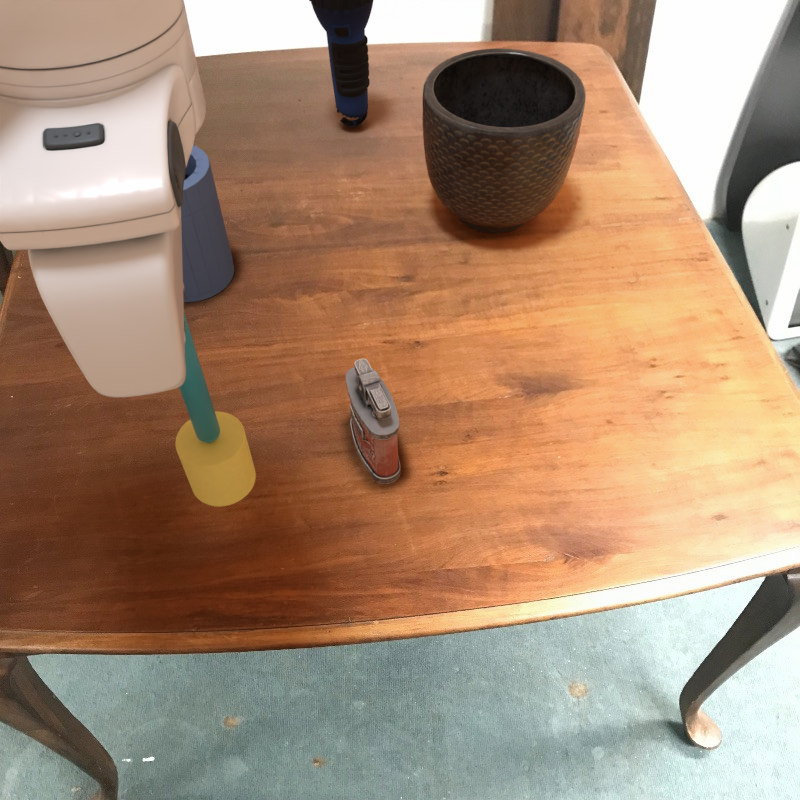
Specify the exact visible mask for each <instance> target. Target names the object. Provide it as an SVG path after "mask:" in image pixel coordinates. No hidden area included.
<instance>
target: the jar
mask: <svg viewBox="0 0 800 800" xmlns="http://www.w3.org/2000/svg"><path fill="white" fill-rule="evenodd" d="M212 169H213V168H212V166H211V161H210V158H209V156H208V155H207V153H206V152H205V150H203V149H202V148H200V147H199V146H196V145H195V144H193V148H192V151H191V154H190V157H189V160H188V163H187V166H186V173H185V179H184V186H183V204H182V206H181V229H182V266H183V284H184V303H195V302H200V301H204V300H207V299H209V298H213V297H214V296H217V295H218V294H219V293H221V292H222V291H224V289H226V288H227V287H228V285H230V284H231V281H232V280H233V277H234V275H235V264H234V261H233V260H234V259H233V254H232V251H231V246H230V242H229V238H228V233H227V230H226V224H225V220H224V216H223V212H222V208H221V204H220V199H219V196H218V190H217V188H216V187H217V186H216V183H215V178H214V174H213V170H212Z"/></svg>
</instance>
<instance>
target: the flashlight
mask: <svg viewBox="0 0 800 800" xmlns="http://www.w3.org/2000/svg"><path fill="white" fill-rule="evenodd" d="M309 2H310V3H311V6H312V9H313V12H314V14H315V16H316V18H317V20H318V23H319V24H320V26H321V28H323V29H324V31H325V32H326V40H327V41H326V42H327V49H328V57H329V66H330V75H331V80H332V89H333V94H334V102H335V109H336V113H339V114H341V115H342V116H343V117H341V119H340V120H339V122H341V123H342V125H344V126H347V127H351V128H353V127H358V126H360V125H362V124H363V123H364V122H365V121H366V119H367V117H368V113H369V112H368V110H369V91H368V90H369V89H368V88H369V87H370V85H371V83H370V78H369V77H370V63H369V60H370V59H369V57H370V56H369V46H368V41H369V39H368V37H367V35H366V27H367V26H368V23H369V20H370V17H371V15H372V14H371V13H372V9H373V7H374V6H373V5H374V0H309ZM349 118H350V119H349ZM352 119H353V120H352Z"/></svg>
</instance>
